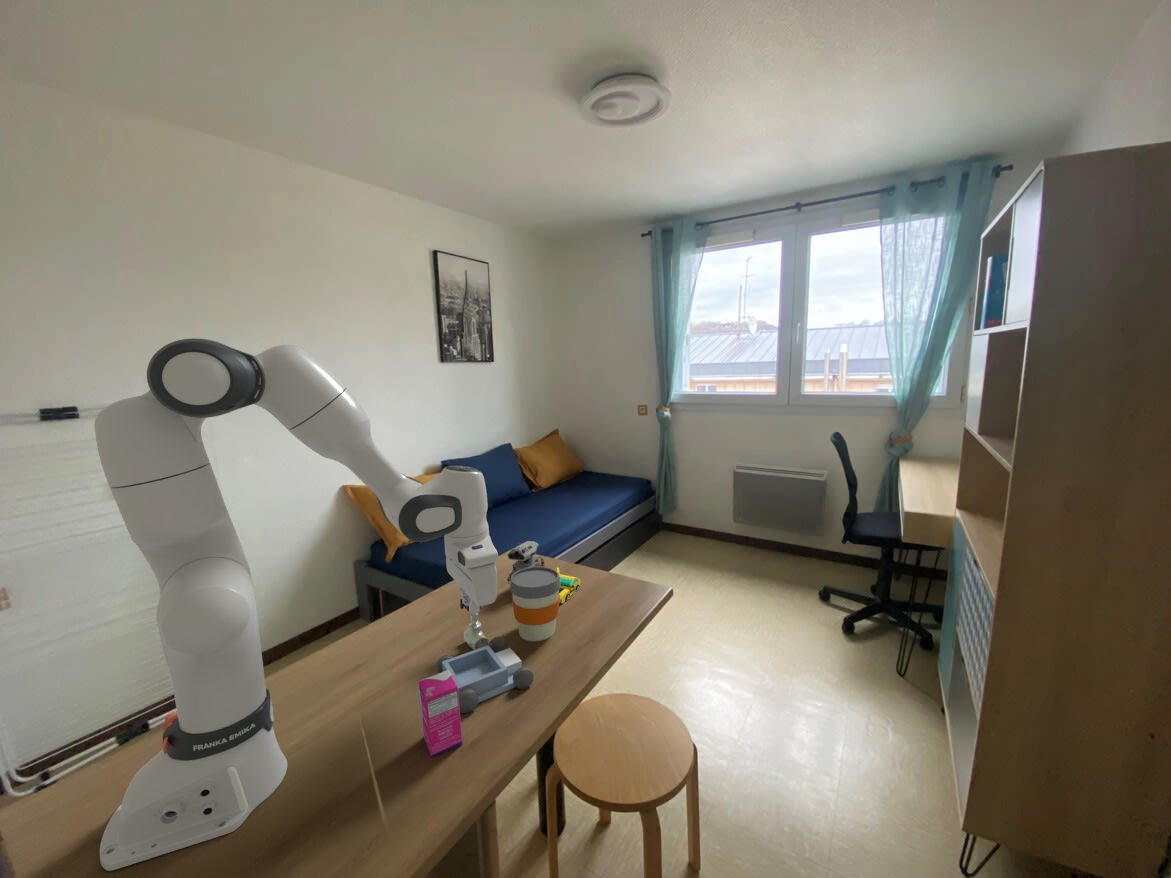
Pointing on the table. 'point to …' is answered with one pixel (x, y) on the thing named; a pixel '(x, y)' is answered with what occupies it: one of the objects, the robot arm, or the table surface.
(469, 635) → the valve
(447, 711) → the supplement box
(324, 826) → the table surface
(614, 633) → the table surface
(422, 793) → the table surface
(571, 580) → the toy car
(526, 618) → the reusable coffee cup
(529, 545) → the figurine
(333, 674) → the table surface
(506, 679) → the chassis
